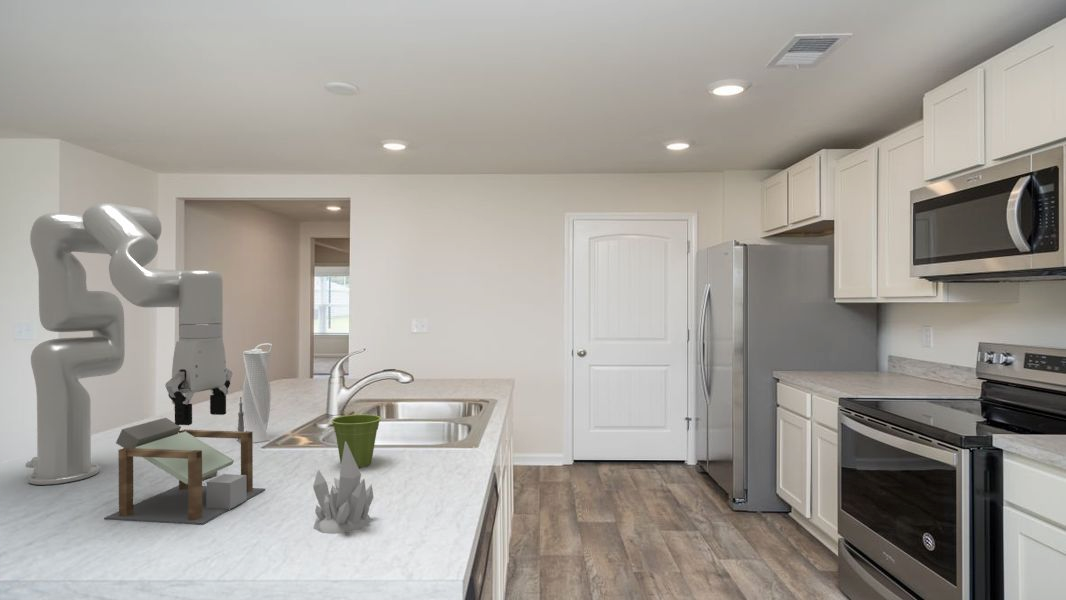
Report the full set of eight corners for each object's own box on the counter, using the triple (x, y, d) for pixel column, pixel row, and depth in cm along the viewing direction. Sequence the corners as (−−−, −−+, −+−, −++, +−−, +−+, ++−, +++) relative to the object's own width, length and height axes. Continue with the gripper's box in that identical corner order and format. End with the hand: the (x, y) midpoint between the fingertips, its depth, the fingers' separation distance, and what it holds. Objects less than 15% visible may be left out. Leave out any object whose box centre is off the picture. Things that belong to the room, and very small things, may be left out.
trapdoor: (111, 444, 110) (117, 430, 110) (163, 428, 123) (169, 416, 123) (184, 489, 108) (191, 475, 108) (230, 468, 121) (236, 456, 121)
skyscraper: (267, 436, 172) (267, 342, 172) (275, 441, 166) (275, 343, 166) (236, 441, 167) (236, 343, 167) (243, 446, 160) (243, 345, 160)
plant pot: (384, 468, 139) (384, 421, 139) (332, 474, 134) (332, 425, 134) (378, 455, 150) (378, 412, 150) (330, 460, 145) (329, 415, 145)
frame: (118, 517, 108) (118, 449, 108) (184, 488, 125) (184, 429, 125) (196, 521, 106) (195, 452, 106) (252, 491, 123) (252, 431, 122)
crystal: (339, 507, 113) (339, 430, 113) (386, 521, 106) (386, 439, 106) (294, 523, 105) (294, 440, 105) (342, 540, 98) (342, 451, 98)
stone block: (206, 481, 112) (230, 482, 111) (223, 474, 117) (246, 475, 116) (206, 507, 112) (230, 508, 111) (223, 498, 117) (246, 499, 116)
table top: (104, 519, 107) (104, 517, 107) (179, 486, 126) (179, 484, 126) (203, 524, 104) (203, 523, 104) (265, 489, 123) (265, 488, 123)
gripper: (213, 330, 124) (213, 410, 124) (149, 335, 107) (149, 428, 107) (246, 330, 123) (246, 411, 123) (186, 335, 106) (187, 429, 106)
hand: (201, 419), depth 115 cm, fingers open, 9 cm apart
